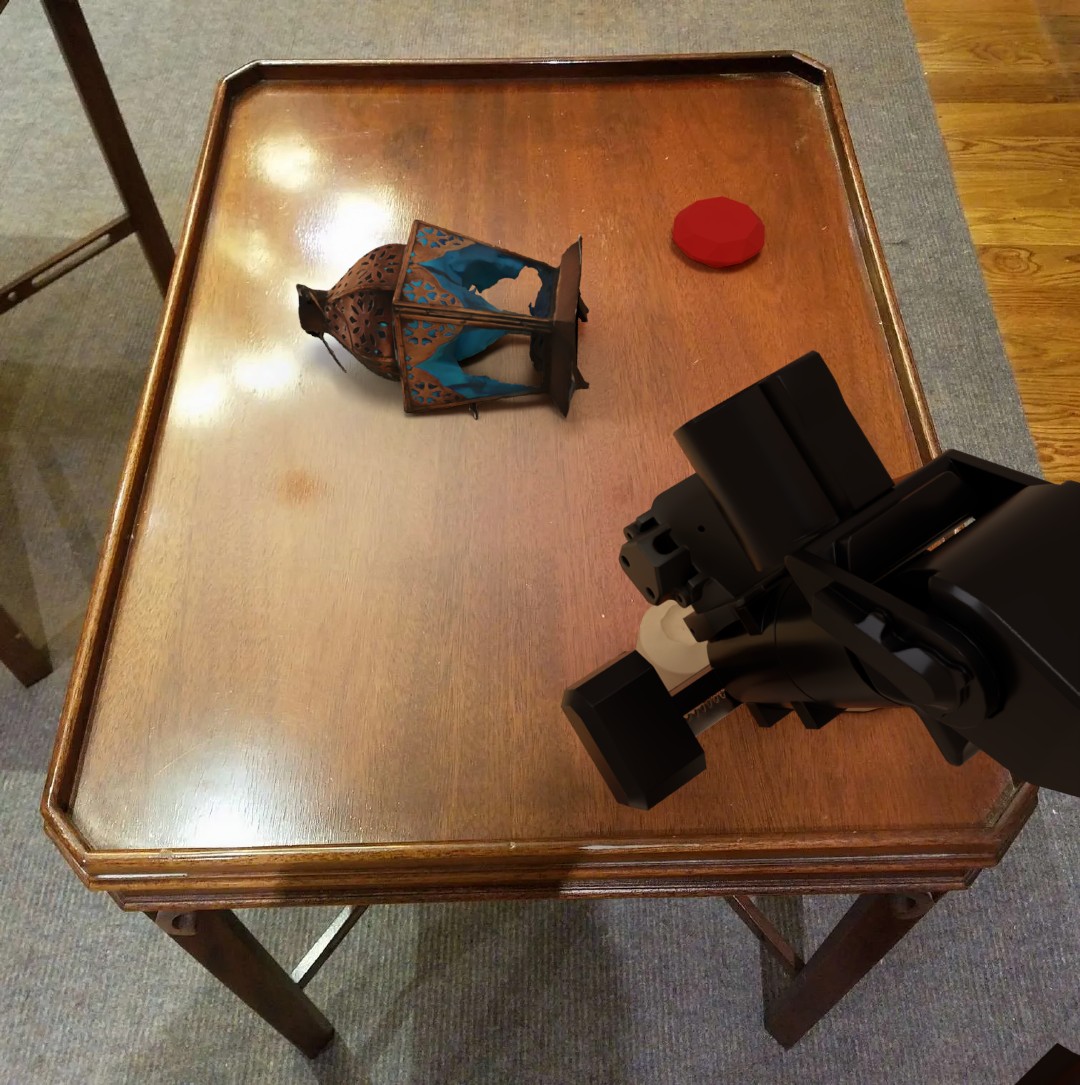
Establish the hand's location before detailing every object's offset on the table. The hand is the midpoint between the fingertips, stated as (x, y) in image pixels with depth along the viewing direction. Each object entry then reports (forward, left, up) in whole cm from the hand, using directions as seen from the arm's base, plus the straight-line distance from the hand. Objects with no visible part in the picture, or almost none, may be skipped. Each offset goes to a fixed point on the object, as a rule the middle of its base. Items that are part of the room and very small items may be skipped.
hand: (685, 657), depth 51 cm
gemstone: (+53, -8, -15) cm, 55 cm away
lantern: (+36, +17, -15) cm, 42 cm away
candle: (+5, -1, -15) cm, 16 cm away
